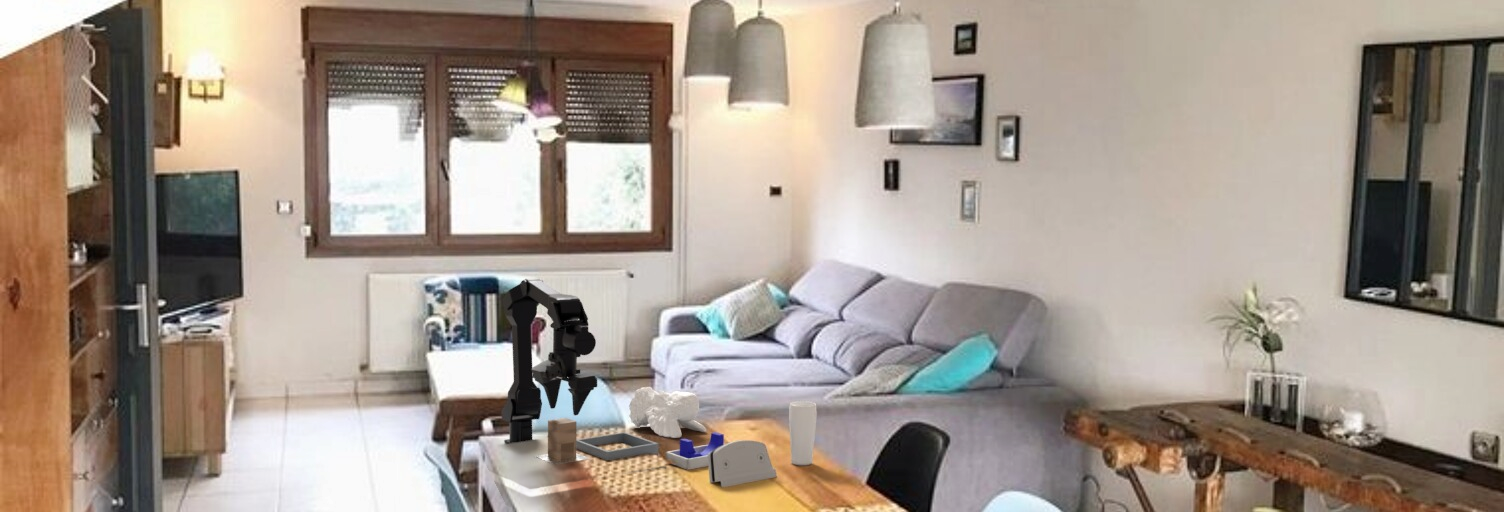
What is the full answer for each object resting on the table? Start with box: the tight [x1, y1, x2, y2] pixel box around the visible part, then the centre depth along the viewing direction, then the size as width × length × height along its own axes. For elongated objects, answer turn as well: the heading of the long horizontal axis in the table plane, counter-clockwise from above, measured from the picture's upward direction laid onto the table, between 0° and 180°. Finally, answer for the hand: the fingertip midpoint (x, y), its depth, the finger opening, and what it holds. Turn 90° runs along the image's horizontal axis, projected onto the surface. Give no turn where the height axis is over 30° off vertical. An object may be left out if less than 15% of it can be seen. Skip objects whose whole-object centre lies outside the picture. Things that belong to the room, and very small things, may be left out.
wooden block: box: [547, 417, 577, 461], centre depth 314 cm, size 5×5×9 cm
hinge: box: [707, 439, 778, 488], centre depth 303 cm, size 17×5×10 cm, turn 128°
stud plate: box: [533, 452, 591, 465], centre depth 314 cm, size 10×10×5 cm
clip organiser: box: [665, 444, 709, 471], centre depth 319 cm, size 9×17×2 cm, turn 129°
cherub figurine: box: [628, 386, 707, 439], centre depth 351 cm, size 13×12×20 cm
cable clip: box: [679, 431, 725, 459], centre depth 319 cm, size 12×4×6 cm, turn 135°
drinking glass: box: [788, 400, 818, 467], centre depth 318 cm, size 7×7×15 cm
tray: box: [576, 431, 659, 461], centre depth 323 cm, size 15×15×4 cm
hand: (564, 411), depth 313 cm, fingers open, 9 cm apart
